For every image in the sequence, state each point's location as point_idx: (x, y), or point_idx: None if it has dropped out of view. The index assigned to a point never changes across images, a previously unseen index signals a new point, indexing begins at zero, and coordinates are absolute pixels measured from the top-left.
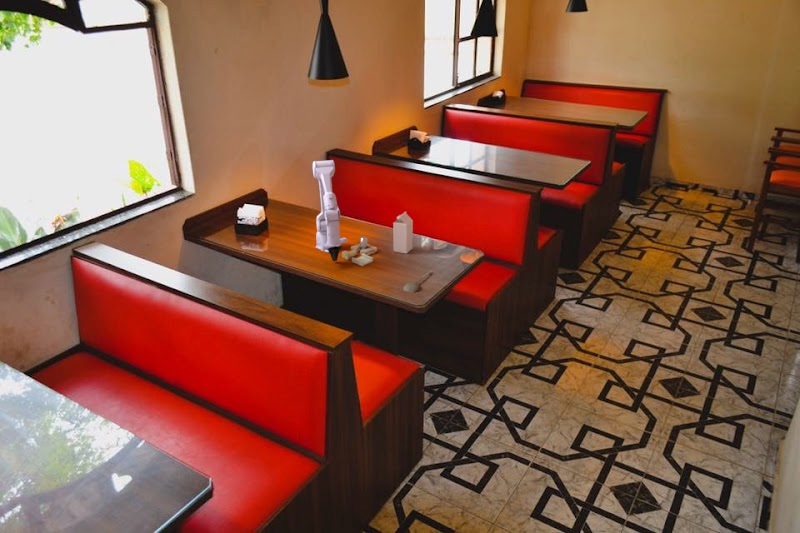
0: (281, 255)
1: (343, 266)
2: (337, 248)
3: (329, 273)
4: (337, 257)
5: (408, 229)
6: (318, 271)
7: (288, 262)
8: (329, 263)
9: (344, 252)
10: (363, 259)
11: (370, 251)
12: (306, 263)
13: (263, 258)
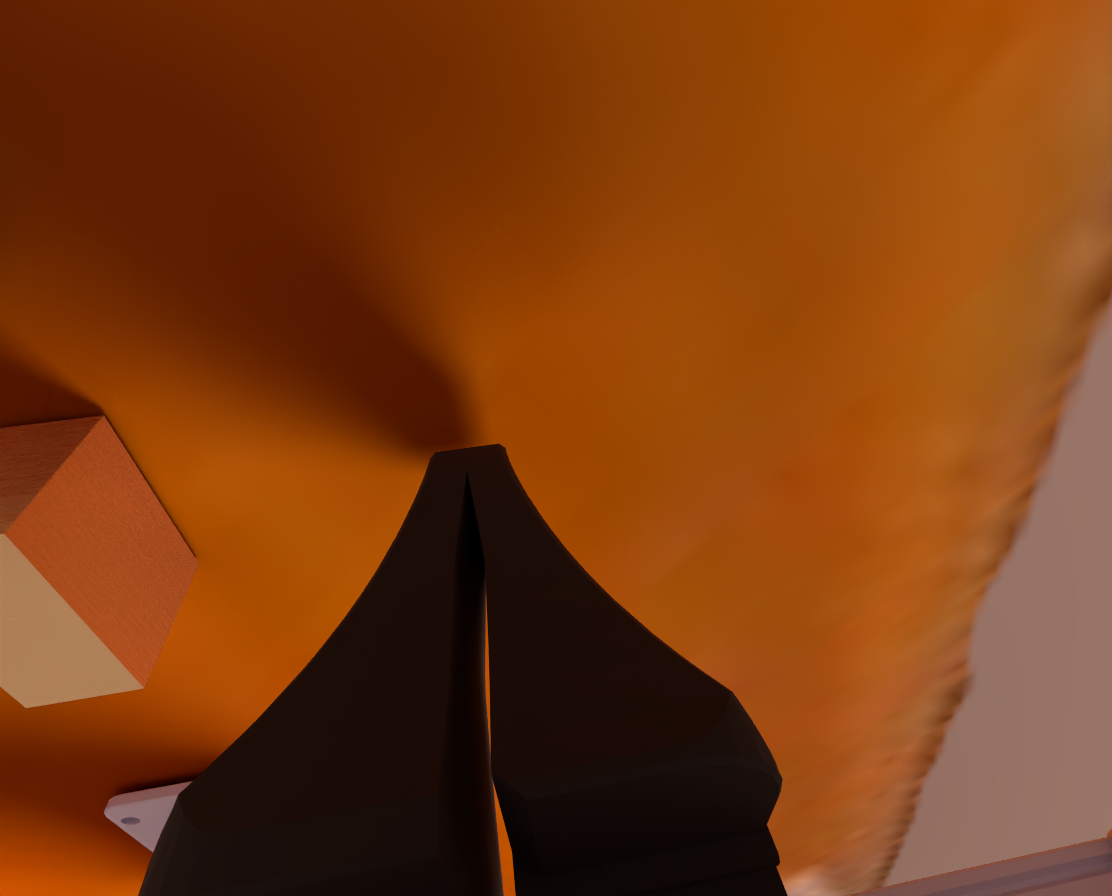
0: (787, 813)
1: (402, 139)
2: (448, 826)
3: (995, 15)
4: (424, 500)
5: None
6: (985, 314)
7: (889, 712)
8: (572, 480)
9: (82, 634)
10: None
11: None
12: (806, 629)
13: (915, 809)
